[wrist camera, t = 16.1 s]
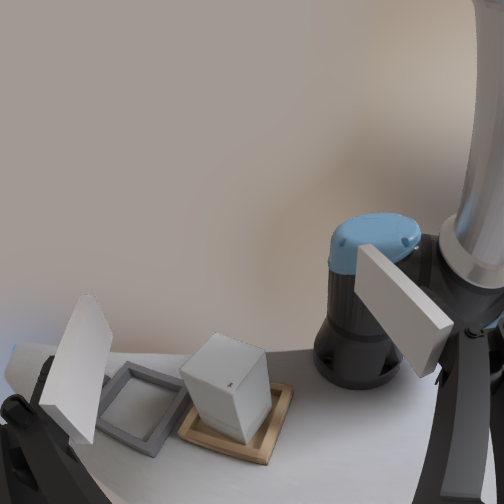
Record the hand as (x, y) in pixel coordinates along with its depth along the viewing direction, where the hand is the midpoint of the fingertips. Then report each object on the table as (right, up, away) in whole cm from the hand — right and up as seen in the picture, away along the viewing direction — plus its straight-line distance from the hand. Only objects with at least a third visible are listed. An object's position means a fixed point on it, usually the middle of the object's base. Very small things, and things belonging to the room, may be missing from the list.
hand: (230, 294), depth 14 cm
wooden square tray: (-1, -21, +24) cm, 32 cm away
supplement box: (-1, -21, +24) cm, 32 cm away
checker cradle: (-16, -22, +26) cm, 38 cm away
